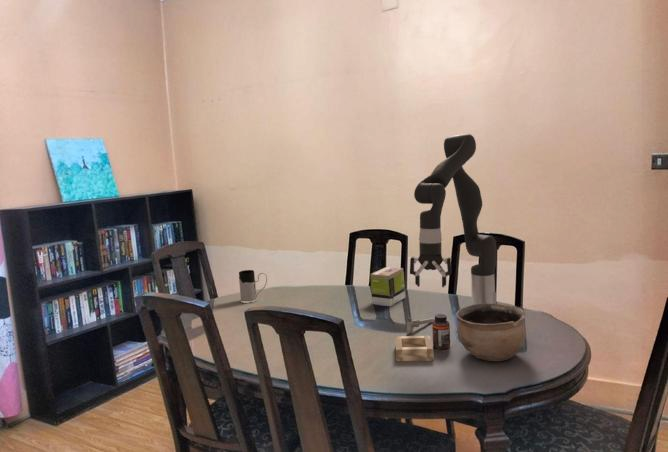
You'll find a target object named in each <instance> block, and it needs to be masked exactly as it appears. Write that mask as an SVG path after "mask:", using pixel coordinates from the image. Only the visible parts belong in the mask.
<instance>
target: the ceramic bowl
mask: <svg viewBox="0 0 668 452" xmlns="http://www.w3.org/2000/svg"><path fill="white" fill-rule="evenodd" d="M525 312H526V311H524V309H523V308H520V307H517V306H510V305H505V304H499V303H496V304H489V303H484V304H475V305H472V304H471V305H467V306H464V307H462V308H460V309H458V310H457V312H456V313H455V317H456V319H457V321H458V322H457V326H456V328H457V329H456V330H457V331H456V332H457V337H458V340H459V342H460V344H461V345H462V346H463V348H464V349H465V350H466V351H467V352H469V353H470V354H471V355H472V356H474V357H476V358H477V359H481V360H483V361H490V362H501V361H502V362H503V361H507V360H509V359H511V358H513V357H514V356H516V355H517V354H518V353H519V352H520V350H521V349H522V348H523V347H524V344H525V342H526V339H527V338H526V337H527V328H526V323H525V319H526V313H525Z"/></svg>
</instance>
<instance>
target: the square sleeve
mask: <svg viewBox="0 0 668 452" xmlns="http://www.w3.org/2000/svg"><path fill="white" fill-rule="evenodd" d="M394 339H395V357H396V362H421V361H422V362H427V361H428V362H429V361H430V362H431V361H434V346H433V342H432V339H431V336H430V335H401V336H400V335H399V336H398V335H397V336H395V337H394Z"/></svg>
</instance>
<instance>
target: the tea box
mask: <svg viewBox="0 0 668 452" xmlns="http://www.w3.org/2000/svg"><path fill="white" fill-rule="evenodd" d="M405 287H406V285H405V272H404V268H403V267H389V266H388V267H387V266H385V267H383V268H380V269H379V270H377V271H374V272H372V273H370V289H371V291H370V292H371V301H372V305H375V306H382V307H383V306H385V307H391V306H393V305H395V304H396V303H398V302H400V301H401V300H403V299H405V298H406V288H405Z"/></svg>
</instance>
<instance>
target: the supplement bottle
mask: <svg viewBox="0 0 668 452" xmlns="http://www.w3.org/2000/svg"><path fill="white" fill-rule="evenodd" d="M434 318H435V320H434V321H433V322H432V323H431V324H432V326H431V328H432V347H433V348H435V349H439V350H440V349H441V350H446V349H448V348H450V347H451V331H450V330H451V329H450V327H451V325H450V324H451V323H450V322H449V320H447V314H445V313H437V314H434Z"/></svg>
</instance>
